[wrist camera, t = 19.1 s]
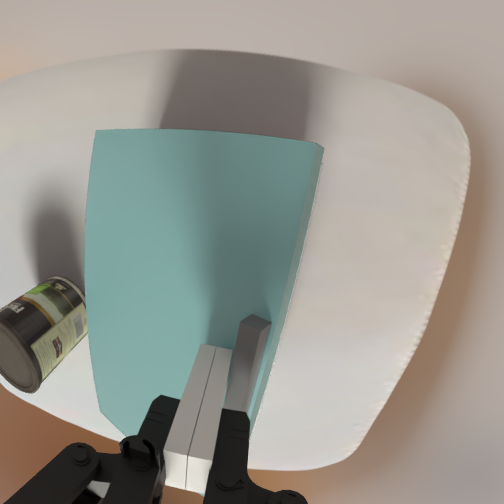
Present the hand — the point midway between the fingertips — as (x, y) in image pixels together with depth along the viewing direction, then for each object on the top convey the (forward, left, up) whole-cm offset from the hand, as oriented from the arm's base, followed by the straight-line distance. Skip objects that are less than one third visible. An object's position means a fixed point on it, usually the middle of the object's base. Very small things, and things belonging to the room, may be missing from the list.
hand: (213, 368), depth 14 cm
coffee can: (-24, -13, -20) cm, 34 cm away
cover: (-4, -3, -4) cm, 6 cm away
